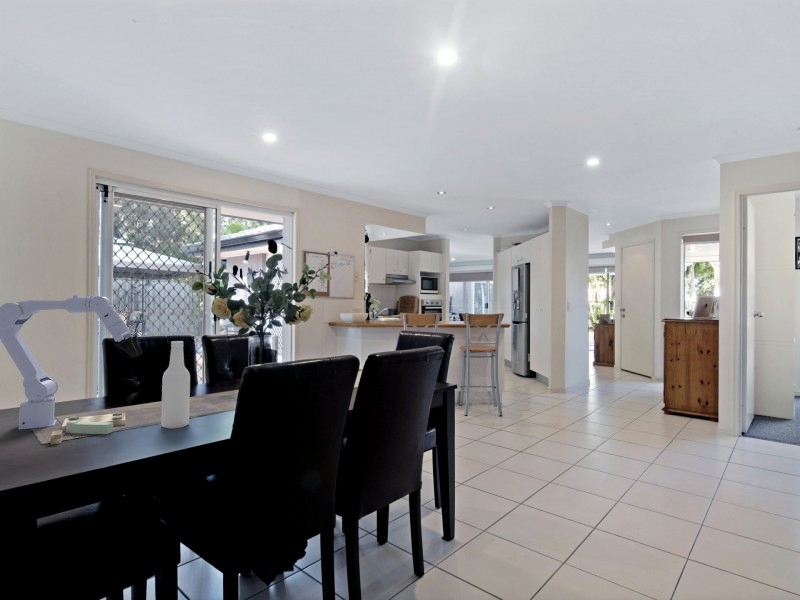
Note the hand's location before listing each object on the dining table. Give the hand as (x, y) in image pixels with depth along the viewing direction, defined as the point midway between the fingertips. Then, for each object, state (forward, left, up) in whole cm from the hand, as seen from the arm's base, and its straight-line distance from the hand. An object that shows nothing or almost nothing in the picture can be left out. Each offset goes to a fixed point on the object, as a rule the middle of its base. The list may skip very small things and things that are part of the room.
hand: (137, 355), depth 162 cm
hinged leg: (-14, -12, -24) cm, 30 cm away
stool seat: (-13, -8, -24) cm, 28 cm away
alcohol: (+12, -16, -24) cm, 31 cm away
